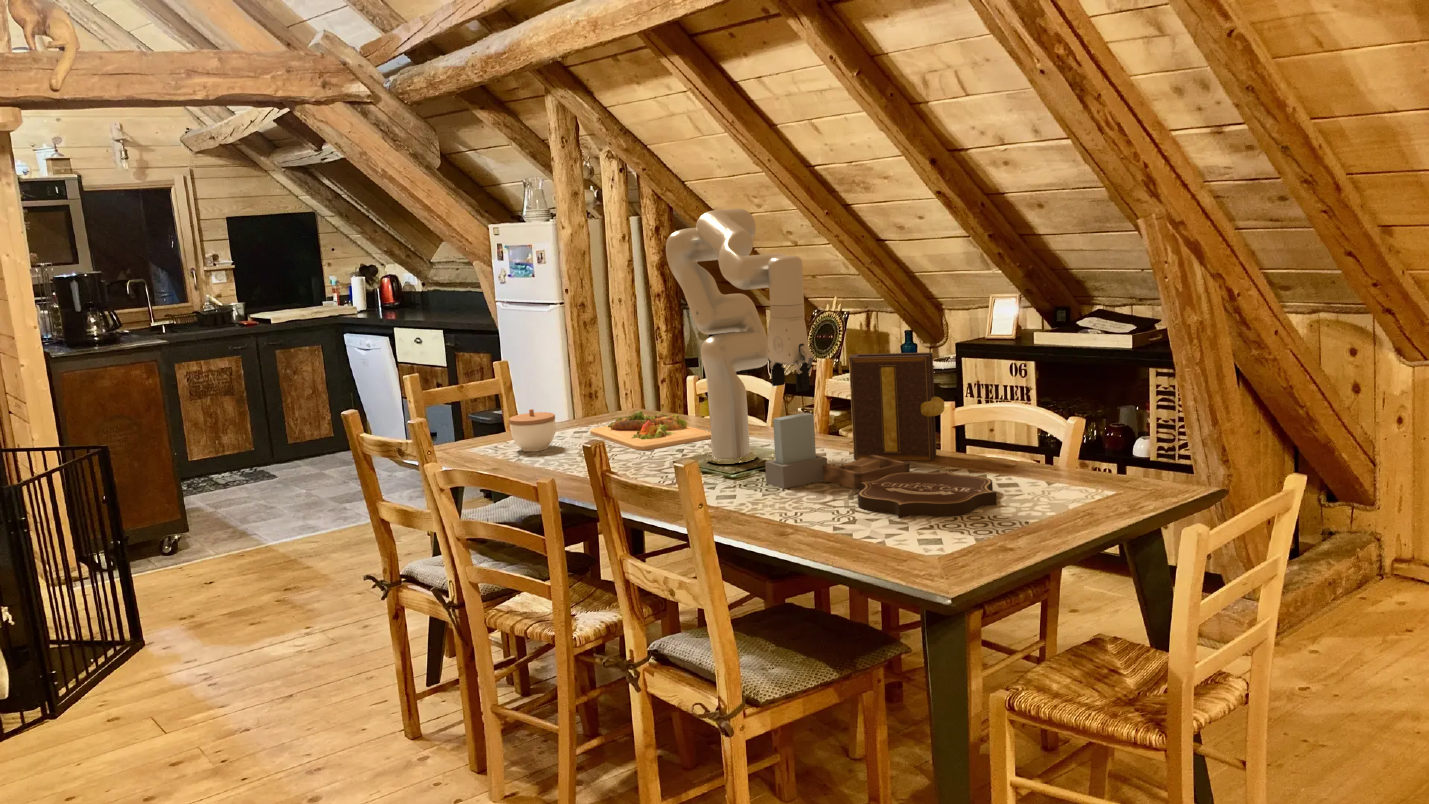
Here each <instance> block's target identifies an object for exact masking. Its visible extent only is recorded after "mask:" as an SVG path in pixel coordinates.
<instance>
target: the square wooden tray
mask: <svg viewBox="0 0 1429 804" xmlns="http://www.w3.org/2000/svg"><path fill="white" fill-rule="evenodd" d="M869 457H870V459H877V460H879V461H880V468H878V469H873V470H868V471H864V472H859V473H858V472H854V471H851V470H847V469H844V464H842V465H838V466H836V465H831V464H828V463H827V464H826V465H823V476H824V480H823V481H825V482H829V483H832V484H835V485H838V486H843V487H846V488H849V489H853V490H855V491H856V490H857V491H859V482H869V481H874V480H877V479H880V478H882V477H884V476H886V475H889V474H893V473H901V472H911V470H910V463H909V462H906V461H898V460H894V459H890V458H885V457H881V456H877V455H869Z"/></svg>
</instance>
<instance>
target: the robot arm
mask: <svg viewBox="0 0 1429 804" xmlns="http://www.w3.org/2000/svg"><path fill="white" fill-rule="evenodd" d="M756 228H757V227H756V221H755V218H754V216H753V215H752V214H751V213H750V211H748V210H746V209H744V208H729V209H728V208H727V209H715V210H709V211H706V212H704V213H703V214H701V215H700V216H699V218H697V221H696V224H695V227H689V228H682V229H679V230H676V231H674V232H672V233H671V234H670V235H669V236H668V238H667V239H666V242H665V254H666V260H667V264H668V267H669V269H670V271H671V273H672V275H673V277H674V279H675V280H676V281H677V283H678V284H679V287H680V288H681V290H682V292H683V294H684V298H685V300H686V302H687V305H688V308H689V310H690V313H691V316H692V319H693V322H694V324H695V326H696V328H697V330H698V332H700V333H701V334H703V335H712V336H709V337H707V338H706V339H705V340H704V341H703V342H702V344H701V347H700V358H701V361H702V365H703V369H704V374H705V379H706V389H707V399H708V415H709V428H710V431H709V432H711V439H710V441H709V442H708V444H707V446H708V448H711V453H710V454H707V455H706V456H708V455H712V457H715V458H717V459H734V460H738V459H737V458H740V457H746V456H748V455H751V454H750V452H754V451H752V450H751V447H750V446H751V445H750V432H749V429H750V428H749V414H748V401H747V400H748V399H747V388H746V386H745V384H744V382H743V381H742V379H741V378H740V377H739V376H738V374H737V372H740V371H747V370H753V369H759V368H762V367H764V366H766V365H767V364H768V363H769V368H770V369H771V370H770V371H771V373H770V374H771V385H772V387H779V386H784V385H785V384H786V376H785V367H784V366H783V365H787V366H792V365H793V366H794V368H795V371H796V373H795V390H796V392H799V393H800V392H806V391H810V388H811V387H810V373H811V368H812V366H813V362H814V354H813V353H812V352H811V350H809V341H808V332H807V326H806V320H805V303H804V302H805V301H804V300H805V299H804V298H805V296H804V273H803V270H804V269H803V261H802V259H801V257H800V256H796V255H786V254H783V253H780V252H779V253H766V254H765V253H763V254H753V255H750V254H751V252H752V250H753V247H754V240H753V239H754V237H755V235H756V230H757V229H756ZM708 261H718V267H719V269H720V270H719V271H720V273H721V275H722V277H723V278H724V279H725V280H726V281H727V282H729V283H730V284H731V285H732V286H734V287H735V288H737V289H739V290H745V291H746V290H747V291H748V290H755V289H756V290H757V289H765V288H767V289H768V290H769V314H770V317H769V321H768V329H767V332H766V330H765V328H764V326H763V323H762V321H761V317H760V315H759V311H758V310H757V308H756V305H755V303H754V302H753V300H752V299H751V298H750V297H749V296H748V295H746V294H745V293H728V294H724V293H722V292H721V291H720V290H719V288H718V285H717V282H716V279H715V278H714V277H713V275H711V273H710V272H709V270H707V269H705V267H702V266H701V265H700V264H698V262H708ZM752 455H753V454H752ZM755 455H757V453H756V454H755Z"/></svg>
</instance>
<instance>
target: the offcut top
mask: <svg viewBox="0 0 1429 804" xmlns="http://www.w3.org/2000/svg"><path fill="white" fill-rule="evenodd" d="M843 465H844V469H847V470H851V471H854V472H858V473H859V472H864V471H868V470H873V469H878V468H880V461H879V460H877V459H867V458H861V459H858V460H853V461H850V462H848V463H845V464H843Z"/></svg>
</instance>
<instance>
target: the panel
mask: <svg viewBox="0 0 1429 804" xmlns="http://www.w3.org/2000/svg"><path fill="white" fill-rule="evenodd" d="M814 418H815V417H814V413H809V412H802V413H796V414H791V415H790V414H789V415H785V416H778V417H773V418H772V423H773V441H774V442H773V443H774V444H773V445H774V460H775V461H776V463H777V464H781V465H784V464H789V463H794V462H799V461H804V460H809V459H814V458H816V455H817V451H816V450H817V449H816V435H815V419H814Z"/></svg>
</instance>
